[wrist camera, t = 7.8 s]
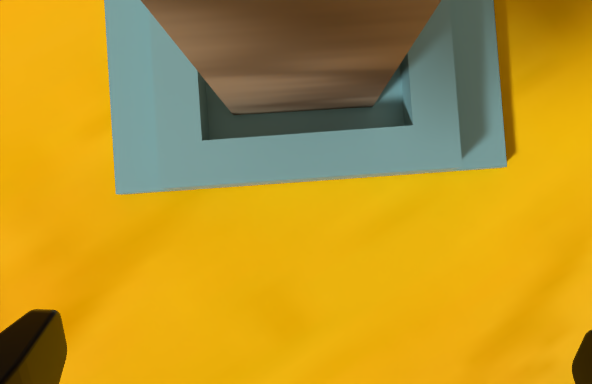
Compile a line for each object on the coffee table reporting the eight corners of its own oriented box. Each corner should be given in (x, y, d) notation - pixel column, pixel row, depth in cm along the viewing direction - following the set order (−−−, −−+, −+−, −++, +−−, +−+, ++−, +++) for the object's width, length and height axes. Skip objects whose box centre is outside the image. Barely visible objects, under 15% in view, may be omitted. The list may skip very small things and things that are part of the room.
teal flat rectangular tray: (479, -101, 20) (499, -137, 18) (501, 167, 20) (523, 163, 18) (105, -71, 20) (82, -103, 18) (121, 194, 20) (100, 192, 18)
